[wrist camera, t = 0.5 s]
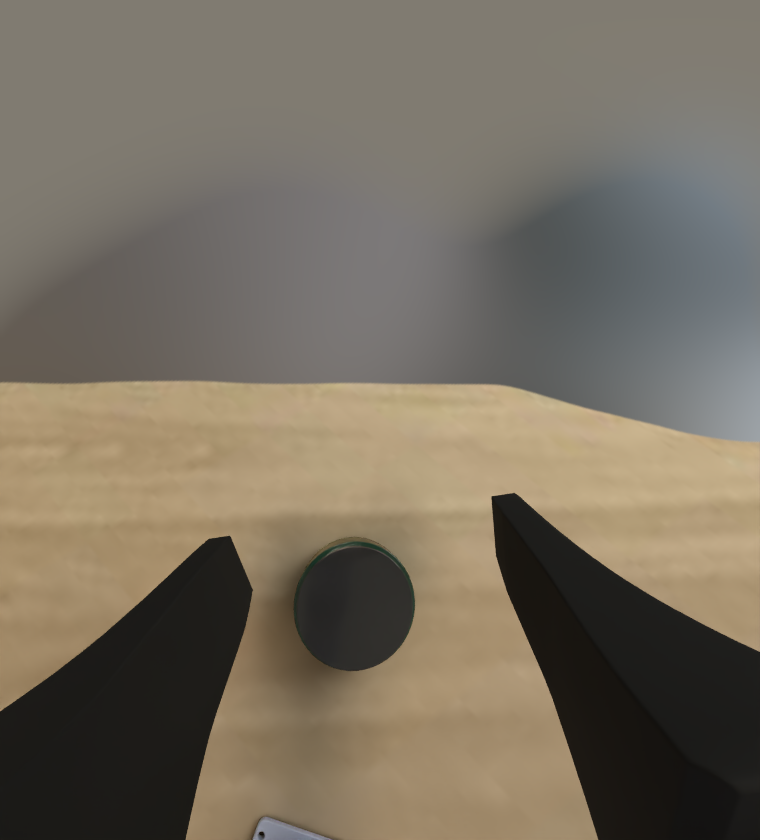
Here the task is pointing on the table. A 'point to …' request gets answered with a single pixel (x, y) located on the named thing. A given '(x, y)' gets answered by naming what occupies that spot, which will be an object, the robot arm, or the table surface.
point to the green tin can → (354, 604)
